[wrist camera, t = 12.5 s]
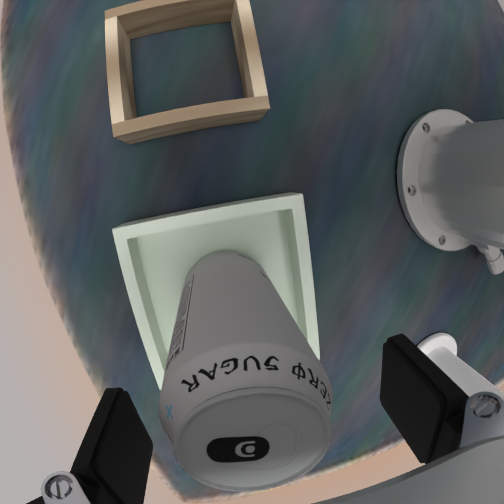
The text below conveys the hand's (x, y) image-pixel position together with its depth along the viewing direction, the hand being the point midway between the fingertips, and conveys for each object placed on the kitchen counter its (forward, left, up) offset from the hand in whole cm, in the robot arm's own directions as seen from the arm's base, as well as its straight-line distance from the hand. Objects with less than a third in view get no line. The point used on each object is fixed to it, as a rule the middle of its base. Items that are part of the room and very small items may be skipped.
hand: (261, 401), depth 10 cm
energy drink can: (0, +1, -13) cm, 13 cm away
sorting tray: (0, +1, -14) cm, 13 cm away
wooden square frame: (+14, -8, -14) cm, 21 cm away
